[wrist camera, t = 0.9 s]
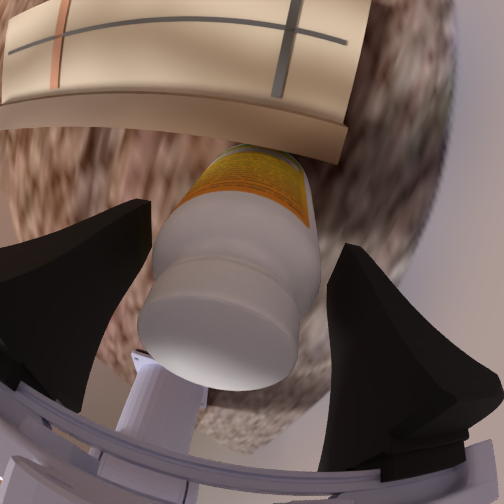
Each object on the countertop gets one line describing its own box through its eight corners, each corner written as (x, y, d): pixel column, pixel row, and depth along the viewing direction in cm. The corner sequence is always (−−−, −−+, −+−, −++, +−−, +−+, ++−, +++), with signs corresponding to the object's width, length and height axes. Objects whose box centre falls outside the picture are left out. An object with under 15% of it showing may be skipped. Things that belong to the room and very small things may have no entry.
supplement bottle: (188, 165, 14) (72, 295, 6) (285, 123, 12) (278, 224, 4) (233, 247, 16) (186, 404, 8) (323, 219, 15) (347, 389, 7)
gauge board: (329, 150, 12) (337, 165, 11) (14, 121, 12) (-10, 131, 10) (365, 3, 8) (379, -11, 6) (21, 18, 8) (-4, 20, 6)
